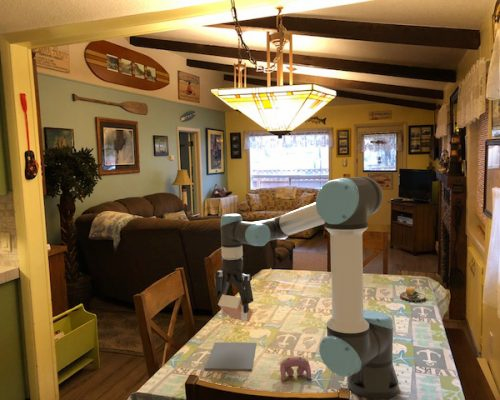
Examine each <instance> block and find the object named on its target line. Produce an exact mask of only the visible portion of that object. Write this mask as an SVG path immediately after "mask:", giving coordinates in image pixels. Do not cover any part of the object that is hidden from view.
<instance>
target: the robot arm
mask: <svg viewBox="0 0 500 400" xmlns="http://www.w3.org/2000/svg"><path fill="white" fill-rule="evenodd" d="M383 201H384V192H383V188H382V187H381V186H380V184H379V183H378V182H377V181H376V180H375V179H373V178H371V177H369V176H368V177H367V176H354V177H352V176H351V177H339V178H335V179H331V180H329V181H327V182H326V183H324V184H323V185H322V186H321V187H320V189H319V190H318V192H317V194H316V198H315V202H313V203H310V204H308V205H305V206H303V207H299V208H297V209H294V210H292V211H290V212H287V213H284V214H281V215H278V216H276V217H273V218H269V219H263V220H262V219H261V220H258V221H257V220H256V221H243V217H242V215H241V214H240V213H227V214H223V215H222V216H221V217H220V225H219V226H220V239H221V240H220V241H221V246H220V247H221V257H222V258H221V268H222V270H221V269H220V270H217V271H215V277H216V278H215V286H214V297H215V298H217V299H218V300H219V301H220V298H221V296H222V294H223V295H227V292H228V290H229V288H230V284H232V285H234V286H235V287H236V289H237V291H238V292H237V293H238V294H239V297H240V298H241V300H242V303H243V304H241V320H240V322H241V323H246V322H247V321H246V320H247V312H248V311H249V308H250V307H249V304H251V303H253V302H254V295H253V289H252V285H251V284H252V282H251V278H252V275H251V274H250V273H249V274H245V273H244V271H243V267H244V258H243V256H244V252H243V244H245V245H250V246H254V247H264V246H266V244H267V243H268V242H271V241H274V240H280V239H284V238H285V239H286V238H287V237H289V236H291V235H294V234H297V233H300V232H303V231H306V230H309V229H312V228H315V227H319V226H321V225H324V229H326V231H327V232H328V233H329V239H330V279H331V281H330V282H331V284H330V287H331V289H330V290H331V317H330V318H329V319H328V320H327V321H326V335H325V336H324V337H323V338H322V340H320V343H319V345H318V346H319V347H318V348H319V356H320V359H321V360H322V362H323V364H324V366H325V365H326V367H327V368H328V370H329V371H330V372H332V373H333V374H334V375H337V376H338V377H343V378H344V377H345V378H346V379H347V380H346V382H347V387H348V388H349V390H351V392H352V393H354V394H356V395H358V396H360V397H363V398H366V399H371V400H386V399H391V398H393V397H394V396H396V395H397V394H398V393H399V387H400V386H399V379H398V377H397V372H396V370H395V367H394V365H393V362H394V361H393V347H394V346H393V340H394V339H393V338H394V334H393V333H394V325H393V319H392V317H391V316H390V315H388V314H387V313H385V312H382V311H377V310H372V309H364V270H363V269H364V265H363V263H364V261H363V259H364V257H363V256H364V255H363V233H364V232H365V231H366V230H367V229H369V216H371V215H374V214H375V213H377V212H378V211H379V209H380V208H381V207H382V205H383ZM219 301H218V302H219ZM219 308H220V312H221V313H220V317H221V319H224V318H226V317H227V316H228V314H227V313H226V312H225V311H224V310H223V309H222V308H221V307H220V306H219Z"/></svg>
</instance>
